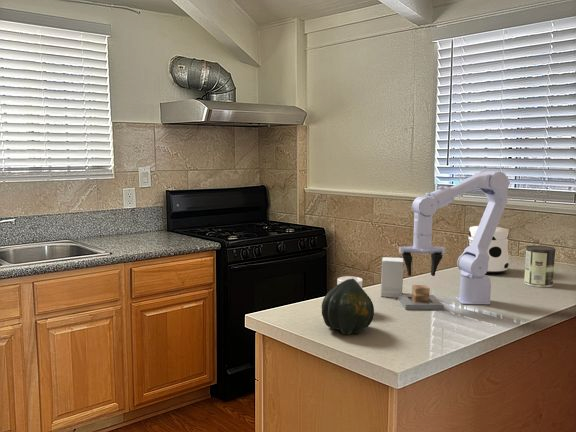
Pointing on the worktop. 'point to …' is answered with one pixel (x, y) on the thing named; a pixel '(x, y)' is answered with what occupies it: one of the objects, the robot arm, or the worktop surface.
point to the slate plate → (410, 305)
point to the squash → (347, 308)
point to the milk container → (495, 249)
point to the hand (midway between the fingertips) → (421, 275)
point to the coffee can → (539, 266)
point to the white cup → (357, 279)
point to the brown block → (420, 294)
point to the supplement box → (392, 277)
